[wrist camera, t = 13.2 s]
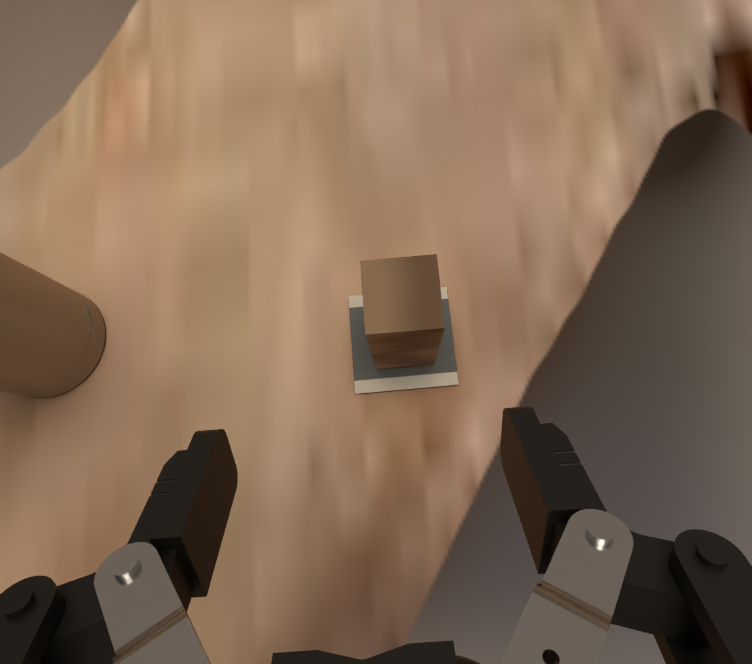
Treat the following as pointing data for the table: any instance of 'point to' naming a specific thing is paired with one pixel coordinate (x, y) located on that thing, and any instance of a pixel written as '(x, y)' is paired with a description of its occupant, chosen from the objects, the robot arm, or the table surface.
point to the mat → (399, 378)
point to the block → (402, 310)
